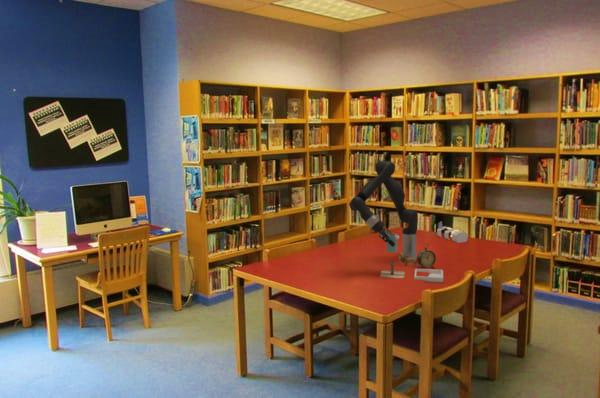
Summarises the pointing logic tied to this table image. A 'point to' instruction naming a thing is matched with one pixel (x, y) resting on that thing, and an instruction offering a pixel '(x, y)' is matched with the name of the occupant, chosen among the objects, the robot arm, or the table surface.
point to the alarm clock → (426, 258)
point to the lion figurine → (407, 260)
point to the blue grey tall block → (394, 239)
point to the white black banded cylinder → (452, 234)
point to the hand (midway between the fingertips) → (395, 244)
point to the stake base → (396, 274)
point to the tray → (430, 275)
